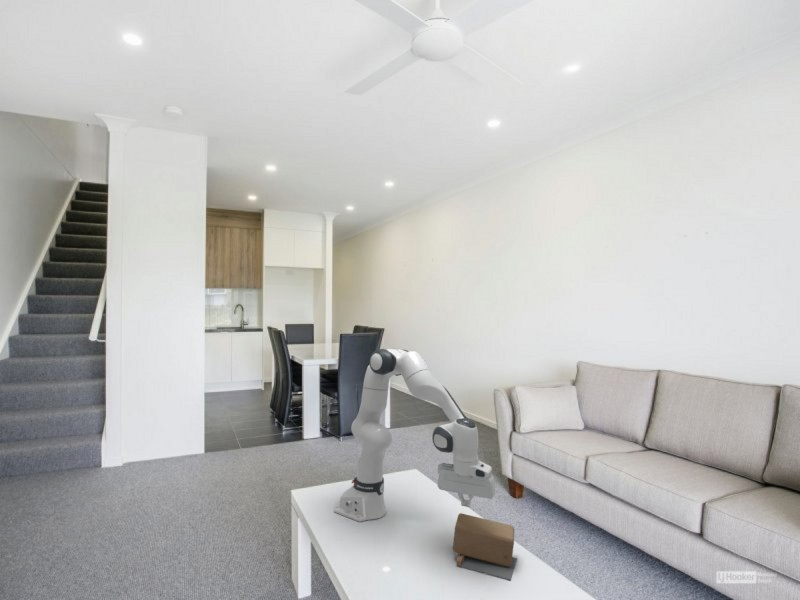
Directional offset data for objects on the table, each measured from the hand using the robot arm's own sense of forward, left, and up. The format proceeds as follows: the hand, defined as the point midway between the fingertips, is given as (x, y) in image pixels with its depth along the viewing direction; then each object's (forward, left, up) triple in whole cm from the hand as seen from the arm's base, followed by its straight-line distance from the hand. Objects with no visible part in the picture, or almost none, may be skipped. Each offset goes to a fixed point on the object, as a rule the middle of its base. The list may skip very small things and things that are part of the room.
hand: (465, 505), depth 151 cm
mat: (+8, 0, -18) cm, 19 cm away
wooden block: (-4, +1, -10) cm, 11 cm away
